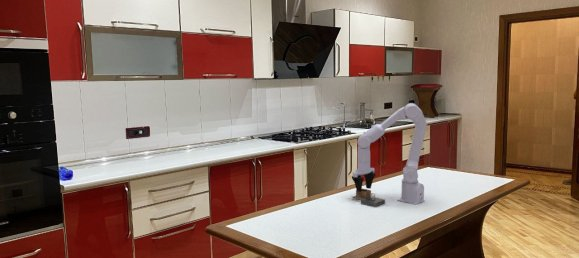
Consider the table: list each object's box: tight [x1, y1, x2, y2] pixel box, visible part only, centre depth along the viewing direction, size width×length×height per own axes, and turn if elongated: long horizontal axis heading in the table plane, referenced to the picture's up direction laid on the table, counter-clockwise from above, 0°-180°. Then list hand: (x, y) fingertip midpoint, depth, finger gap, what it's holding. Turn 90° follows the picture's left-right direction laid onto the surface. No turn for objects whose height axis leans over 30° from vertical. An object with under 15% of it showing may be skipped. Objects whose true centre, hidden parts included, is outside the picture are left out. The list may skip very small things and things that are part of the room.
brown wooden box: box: [355, 188, 372, 198], centre depth 199 cm, size 5×5×3 cm
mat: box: [352, 195, 363, 201], centre depth 200 cm, size 7×7×1 cm
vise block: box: [360, 192, 386, 208], centre depth 190 cm, size 8×7×4 cm
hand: (363, 189), depth 199 cm, fingers open, 7 cm apart
